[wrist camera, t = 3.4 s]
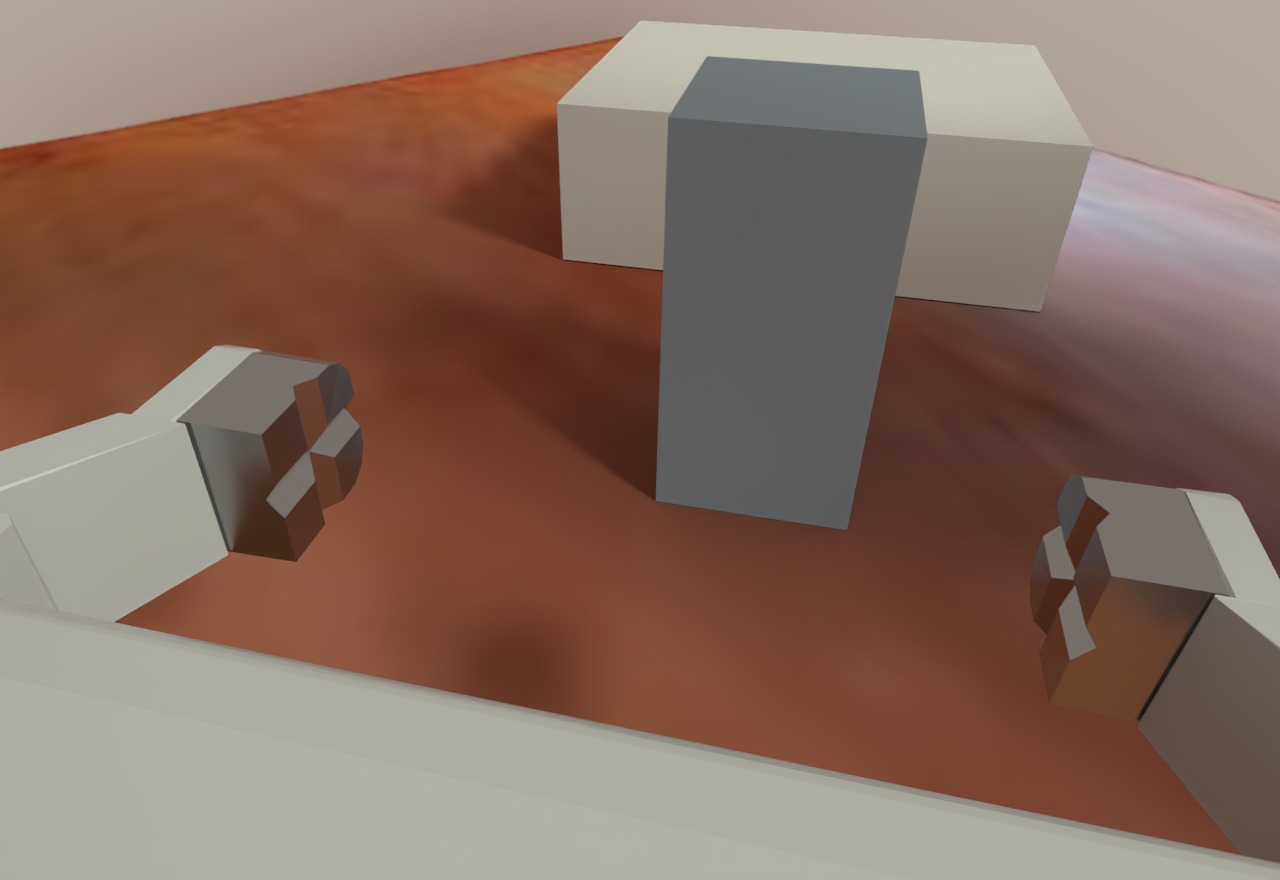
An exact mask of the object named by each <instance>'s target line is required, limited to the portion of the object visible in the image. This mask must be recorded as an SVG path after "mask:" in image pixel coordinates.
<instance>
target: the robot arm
mask: <svg viewBox="0 0 1280 880" xmlns="http://www.w3.org/2000/svg"><path fill="white" fill-rule="evenodd" d="M353 396H354V393H353V388H352V384H351V380H350V376H349V371H348V370H346V369H345V368H344V367H343V366H342V365H340V364H339V363H335V362H329V361H323V360H317V359H312V358H306V357H300V356H294V355H289V354H283V353H277V352H271V351H261V350H259V349H253V348H246V347H240V346H233V345H220V346H214V347H213V348H211V349H210V350H209V351H208V352H207V353H205V354H204V355H203V356H202V357H200V358H199V359H198V360H197V361H196V362H194V363H193V364H192V365H191V366H190V367H188V368H187V369H186V370H185V371H183V372H182V373H181V374H180V375H179V376H177V377H176V378H175V379H174V380H172V381H171V382H170V383H169V384H168V385H166V386H165V387H164V388H163V389H162V390H160V391H159V392H158V393H157V394H155V395H154V396H153V397H152V398H151V399H149V400H148V401H147V402H146V403H145V404H143V405H142V406H141V407H140V408H138V409H137V410H136V411H135V412H134V413H132V414H124V413H117V414H113V415H110V416H107V417H104V418H101V419H98V420H95V421H92V422H89V423H86V424H83V425H80V426H77V427H74V428H70V429H67V430H64V431H61V432H58V433H55V434H52V435H49V436H46V437H43V438H40V439H37V440H34V441H31V442H27V443H24V444H21V445H18V446H15V447H12V448H9V449H6V450H3V451H0V880H1280V579H1279V577H1278V575H1277V573H1276V571H1275V569H1274V567H1273V565H1272V563H1271V561H1270V559H1269V557H1268V555H1267V554H1266V552H1265V550H1264V548H1263V546H1262V544H1261V542H1260V540H1259V538H1258V536H1257V534H1256V532H1255V530H1254V528H1253V526H1252V524H1251V523H1250V521H1249V519H1248V517H1247V515H1246V513H1245V511H1244V509H1243V507H1242V505H1241V503H1240V502H1239V501H1238V500H1237V499H1236V498H1234V497H1233V496H1231V495H1230V494H1223V493H1215V492H1207V491H1198V490H1190V489H1182V488H1176V489H1173V488H1166V487H1159V486H1151V485H1144V484H1137V483H1129V482H1122V481H1115V480H1108V479H1100V478H1093V477H1086V476H1079V475H1071V477H1070V478H1069V479H1068V481H1067V482H1066V484H1065V485H1064V486H1063V489H1062V491H1061V493H1060V496H1059V498H1058V501H1057V503H1056V507H1057V512H1058V516H1059V520H1060V526H1059V527H1057V528H1055V529H1054V530H1052V531H1051V532H1049V533H1047V534H1046V535H1044V536H1043V537H1042V540H1041V543H1040V546H1039V548H1038V551H1037V554H1036V557H1035V559H1034V564H1033V570H1032V576H1031V582H1030V603H1031V609H1032V615H1033V621H1034V622H1035V623H1036V624H1037V625H1038V626H1039V627H1040V628H1041V629H1042V630H1043V631H1044V632H1045V633H1046V634H1047V637H1046V639H1045V642H1044V644H1043V646H1042V648H1041V651H1040V653H1039V654H1040V659H1041V664H1042V669H1043V674H1044V680H1045V685H1046V690H1047V695H1048V700H1049V704H1051V705H1056V706H1061V707H1065V708H1070V709H1075V710H1079V711H1084V712H1089V713H1093V714H1098V715H1103V716H1107V717H1112V718H1117V719H1121V720H1126V721H1131V722H1135V723H1139V724H1138V725H1137V727H1138V729H1139V730H1140V731H1141V732H1142V734H1143V735H1144V736H1145V737H1146V739H1147V740H1148V741H1149V742H1150V743H1151V745H1152V746H1153V747H1154V748H1155V750H1156V751H1157V752H1158V753H1159V755H1160V756H1161V757H1162V758H1163V759H1164V761H1165V762H1166V763H1167V764H1168V766H1169V767H1170V768H1171V769H1172V770H1173V772H1174V773H1175V774H1176V775H1177V777H1178V778H1179V779H1180V780H1181V782H1182V783H1183V784H1184V785H1185V786H1186V788H1187V789H1188V790H1189V791H1190V793H1191V794H1192V795H1193V796H1194V798H1195V799H1196V800H1197V801H1198V802H1199V804H1200V805H1201V806H1202V807H1203V809H1204V810H1205V811H1206V812H1207V814H1208V815H1209V816H1210V817H1211V818H1212V820H1213V821H1214V822H1215V823H1216V825H1217V826H1218V827H1219V828H1220V830H1221V831H1222V832H1223V833H1224V834H1225V836H1226V837H1227V838H1228V839H1229V841H1230V842H1231V843H1232V844H1233V846H1234V847H1235V848H1236V849H1237V850H1238V852H1239V853H1240V854H1241V855H1239V854H1234V853H1229V852H1224V851H1219V850H1214V849H1210V848H1205V847H1200V846H1195V845H1190V844H1185V843H1181V842H1176V841H1171V840H1166V839H1161V838H1156V837H1151V836H1146V835H1142V834H1137V833H1132V832H1127V831H1122V830H1117V829H1112V828H1107V827H1102V826H1097V825H1093V824H1088V823H1083V822H1078V821H1073V820H1068V819H1063V818H1058V817H1053V816H1048V815H1044V814H1039V813H1034V812H1029V811H1024V810H1019V809H1014V808H1009V807H1004V806H999V805H995V804H990V803H985V802H980V801H975V800H970V799H965V798H961V797H956V796H951V795H946V794H941V793H937V792H932V791H927V790H922V789H918V788H913V787H908V786H903V785H898V784H894V783H889V782H884V781H879V780H874V779H870V778H865V777H860V776H855V775H850V774H846V773H841V772H836V771H831V770H826V769H822V768H817V767H812V766H807V765H802V764H798V763H793V762H788V761H783V760H778V759H774V758H769V757H764V756H759V755H754V754H750V753H745V752H740V751H735V750H731V749H726V748H721V747H716V746H711V745H707V744H702V743H697V742H692V741H687V740H683V739H678V738H673V737H668V736H663V735H658V734H653V733H649V732H644V731H639V730H634V729H629V728H624V727H619V726H615V725H610V724H605V723H600V722H595V721H590V720H585V719H581V718H576V717H571V716H566V715H561V714H556V713H551V712H547V711H542V710H537V709H532V708H527V707H522V706H517V705H513V704H508V703H503V702H498V701H493V700H488V699H483V698H479V697H474V696H469V695H464V694H459V693H454V692H449V691H445V690H440V689H435V688H430V687H425V686H420V685H415V684H411V683H406V682H401V681H396V680H391V679H386V678H381V677H377V676H372V675H367V674H362V673H357V672H352V671H348V670H343V669H338V668H333V667H328V666H323V665H319V664H314V663H309V662H304V661H299V660H294V659H289V658H285V657H280V656H275V655H270V654H265V653H260V652H256V651H251V650H246V649H241V648H236V647H231V646H227V645H222V644H217V643H212V642H207V641H202V640H198V639H193V638H188V637H183V636H178V635H173V634H168V633H164V632H159V631H154V630H149V629H144V628H139V627H135V626H130V625H125V624H120V623H115V621H117V620H118V619H120V618H122V617H124V616H125V615H127V614H129V613H130V612H132V611H134V610H135V609H137V608H139V607H141V606H142V605H144V604H146V603H147V602H149V601H151V600H152V599H154V598H156V597H158V596H159V595H161V594H163V593H164V592H166V591H168V590H169V589H171V588H173V587H175V586H176V585H178V584H180V583H181V582H183V581H185V580H186V579H188V578H190V577H191V576H193V575H195V574H197V573H198V572H200V571H202V570H203V569H205V568H207V567H208V566H210V565H212V564H214V563H215V562H217V561H219V560H220V559H222V558H224V557H225V556H227V555H228V551H230V552H236V553H243V554H249V555H255V556H262V557H268V558H274V559H280V560H287V561H293V562H297V560H298V559H299V558H300V556H301V555H302V554H303V552H304V551H305V550H306V549H307V547H308V546H309V545H310V543H311V542H312V541H313V539H314V538H315V537H316V535H317V534H318V533H319V532H320V530H321V529H322V528H323V526H324V525H325V521H324V516H323V512H322V510H323V509H325V508H327V507H329V506H332V505H334V504H336V503H338V502H340V501H342V500H344V498H345V497H346V496H347V494H348V493H349V491H350V490H351V489H352V487H353V486H354V484H355V482H356V479H357V476H358V473H359V470H360V467H361V464H362V454H363V441H362V435H361V429H360V426H359V424H358V423H357V422H356V421H355V420H354V418H353V417H352V416H351V415H350V414H349V413H348V411H347V410H346V409H345V408H346V406H347V405H348V404H349V402H350V401H351V399H352V398H353Z"/></svg>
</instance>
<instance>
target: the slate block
mask: <svg viewBox="0 0 1280 880" xmlns="http://www.w3.org/2000/svg"><path fill="white" fill-rule="evenodd" d="M927 139H928V137H927V129H926V121H925V113H924V105H923V97H922V89H921V81H920V73H919V71H915V70H900V69H886V68H872V67H857V66H843V65H828V64H814V63H800V62H785V61H771V60H756V59H742V58H727V57H713V56H707V57H706V59H705V60H704V62H703V63H702V65H701V66H700V68H699V70H698V71H697V73H696V74H695V76H694V77H693V79H692V81H691V82H690V84H689V85H688V87H687V88H686V90H685V91H684V93H683V95H682V96H681V98H680V99H679V101H678V102H677V104H676V106H675V107H674V109H673V110H672V112H671V113H670V115H669V116H668V136H667V167H666V198H665V228H664V259H663V290H662V321H661V351H660V382H659V413H658V443H657V474H656V501H658V502H664V503H671V504H677V505H684V506H690V507H697V508H704V509H710V510H717V511H723V512H730V513H736V514H743V515H749V516H756V517H762V518H769V519H775V520H782V521H788V522H795V523H801V524H808V525H815V526H821V527H828V528H834V529H841V530H847V528H848V523H849V518H850V513H851V508H852V503H853V499H854V494H855V489H856V484H857V479H858V474H859V469H860V465H861V460H862V455H863V450H864V445H865V440H866V435H867V431H868V426H869V421H870V416H871V411H872V406H873V401H874V396H875V392H876V387H877V382H878V377H879V372H880V367H881V362H882V358H883V353H884V348H885V343H886V338H887V333H888V328H889V324H890V319H891V314H892V309H893V304H894V299H895V294H896V290H897V285H898V280H899V275H900V270H901V265H902V260H903V255H904V251H905V246H906V241H907V236H908V231H909V226H910V221H911V217H912V212H913V207H914V202H915V197H916V192H917V187H918V183H919V178H920V173H921V168H922V163H923V158H924V153H925V149H926V144H927Z"/></svg>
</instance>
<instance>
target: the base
mask: <svg viewBox="0 0 1280 880" xmlns="http://www.w3.org/2000/svg"><path fill="white" fill-rule="evenodd" d="M707 56H713V57H727V58H742V59H756V60H771V61H785V62H800V63H814V64H828V65H843V66H857V67H872V68H886V69H900V70H915V71H919V73H920V81H921V89H922V97H923V105H924V113H925V121H926V129H927V137H928V139H927V144H926V149H925V153H924V158H923V163H922V168H921V173H920V178H919V183H918V187H917V192H916V197H915V202H914V207H913V212H912V217H911V221H910V226H909V231H908V236H907V241H906V246H905V251H904V255H903V260H902V265H901V270H900V275H899V280H898V285H897V290H896V294H895V296H901V297H910V298H920V299H929V300H938V301H947V302H956V303H965V304H974V305H983V306H992V307H1002V308H1011V309H1020V310H1029V311H1038V312H1041V309H1042V306H1043V303H1044V300H1045V297H1046V294H1047V291H1048V287H1049V284H1050V281H1051V278H1052V275H1053V272H1054V269H1055V265H1056V262H1057V259H1058V256H1059V253H1060V250H1061V246H1062V243H1063V240H1064V237H1065V234H1066V231H1067V228H1068V224H1069V221H1070V218H1071V215H1072V212H1073V209H1074V206H1075V202H1076V199H1077V196H1078V193H1079V190H1080V187H1081V184H1082V180H1083V177H1084V174H1085V171H1086V168H1087V165H1088V161H1089V158H1090V155H1091V152H1092V149H1093V145H1092V144H1091V142H1090V140H1089V138H1088V137H1087V135H1086V133H1085V131H1084V130H1083V128H1082V126H1081V125H1080V123H1079V121H1078V119H1077V118H1076V116H1075V114H1074V112H1073V111H1072V109H1071V107H1070V106H1069V104H1068V102H1067V100H1066V98H1065V97H1064V95H1063V93H1062V92H1061V90H1060V88H1059V86H1058V85H1057V83H1056V81H1055V79H1054V78H1053V76H1052V74H1051V73H1050V71H1049V69H1048V67H1047V66H1046V64H1045V62H1044V60H1043V59H1042V57H1041V55H1040V54H1039V52H1038V50H1037V48H1036V46H1034V45H1018V44H1001V43H987V42H971V41H955V40H939V39H924V38H908V37H907V38H906V37H892V36H876V35H861V34H845V33H829V32H828V33H827V32H813V31H797V30H781V29H766V28H750V27H733V26H718V25H703V24H687V23H672V22H656V21H640V22H639V23H638V24H637V25H636V26H635V27H634V28H633V29H632V30H631V31H630V32H629V33H628V34H627V35H626V36H625V37H624V38H623V39H622V40H621V41H620V42H619V43H617V44H616V45H615V46H614V47H613V48H612V49H611V50H610V51H609V52H608V53H607V54H606V55H605V56H604V57H603V58H602V59H601V60H600V61H599V62H598V63H597V64H596V65H595V66H594V67H593V68H592V69H591V70H590V71H589V72H588V73H587V74H586V75H585V76H584V77H583V78H582V79H581V80H580V81H579V82H578V83H577V84H576V85H575V86H574V87H573V88H572V89H571V90H570V91H569V92H568V93H567V94H566V95H565V96H564V97H563V98H562V99H561V100H560V101H559V102H558V103H557V122H558V147H559V172H560V197H561V222H562V246H563V259H564V260H573V261H583V262H592V263H601V264H610V265H619V266H628V267H637V268H646V269H655V270H663V259H664V228H665V198H666V167H667V136H668V116H669V115H670V113H671V112H672V110H673V109H674V107H675V106H676V104H677V102H678V101H679V99H680V98H681V96H682V95H683V93H684V91H685V90H686V88H687V87H688V85H689V84H690V82H691V81H692V79H693V77H694V76H695V74H696V73H697V71H698V70H699V68H700V66H701V65H702V63H703V62H704V60H705V59H706V57H707Z"/></svg>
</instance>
